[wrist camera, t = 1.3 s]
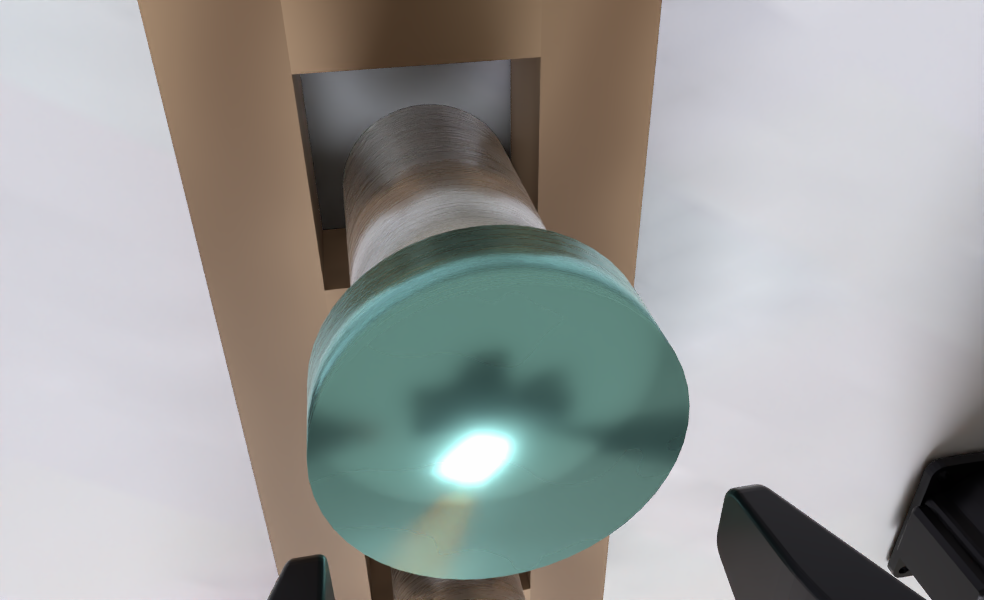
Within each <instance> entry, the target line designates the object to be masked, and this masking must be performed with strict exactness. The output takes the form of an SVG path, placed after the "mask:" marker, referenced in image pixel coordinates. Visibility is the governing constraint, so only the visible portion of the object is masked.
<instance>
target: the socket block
mask: <svg viewBox="0 0 984 600" xmlns="http://www.w3.org/2000/svg"><path fill="white" fill-rule="evenodd" d="M137 1H138V5H139V9H140V13H141V17H142V21H143V25H144V29H145V33H146V37H147V41H148V45H149V49H150V54H151V58H152V62H153V66H154V70H155V74H156V78H157V82H158V86H159V90H160V94H161V98H162V102H163V106H164V111H165V115H166V119H167V123H168V127H169V131H170V135H171V139H172V143H173V147H174V151H175V155H176V159H177V163H178V168H179V172H180V176H181V180H182V184H183V188H184V192H185V196H186V200H187V204H188V208H189V212H190V216H191V220H192V224H193V229H194V233H195V237H196V241H197V245H198V249H199V253H200V257H201V261H202V265H203V269H204V273H205V277H206V281H207V286H208V290H209V294H210V298H211V302H212V306H213V310H214V314H215V318H216V322H217V326H218V330H219V334H220V338H221V343H222V347H223V351H224V355H225V359H226V363H227V367H228V371H229V375H230V379H231V383H232V387H233V391H234V395H235V400H236V404H237V408H238V412H239V416H240V420H241V424H242V428H243V432H244V436H245V440H246V444H247V448H248V452H249V457H250V461H251V465H252V469H253V473H254V477H255V481H256V485H257V489H258V493H259V497H260V501H261V505H262V509H263V514H264V518H265V522H266V526H267V530H268V534H269V538H270V542H271V546H272V550H273V554H274V558H275V562H276V566H277V571H278V575H280V573H281V571H282V569H283V567H284V565H285V564H286V563H287V562H288V561H289V560H290V559H293V558H298V557H304V556H310V555H316V554H322V555H324V556H325V557H326V558H327V561H328V566H329V571H330V576H331V581H332V586H333V591H334V597H335V600H394V597H393V587H392V577H391V567H390V566H387V565H385V564H382V563H380V562H378V561H376V560H374V559H372V558H370V557H369V556H367V555H365V554H363V553H361V552H360V551H359V550H357V549H356V548H354V547H353V546H352V545H350V544H349V543H348V542H346V541H345V540H344V539H343V538H342V537H341V536H340V535H339V534H338V533H337V532H336V531H335V530H334V529H333V528H332V526H331V525H330V524H329V522H328V521H327V520H326V518H325V517H324V516H323V514H322V512H321V510H320V508H319V506H318V504H317V502H316V500H315V498H314V496H313V492H312V489H311V486H310V482H309V478H308V468H307V378H308V365H309V361H310V357H311V352H312V348H313V345H314V342H315V340H316V338H317V335H318V333H319V330H320V328H321V326H322V324H323V322H324V321H325V319H326V318H327V316H328V314H329V313H330V311H331V309H332V308H333V306H334V305H335V304H336V303H337V301H338V300H339V299H340V298H341V297H342V295H343V294H344V293H345V292H346V290H347V289H348V288H349V287H350V274H349V261H348V249H347V236H346V228H340V229H330V230H323V228H322V221H321V214H320V207H319V200H318V193H317V187H316V180H315V173H314V166H313V159H312V152H311V146H310V139H309V132H308V125H307V118H306V111H305V104H304V98H303V91H302V84H301V77H300V74H305V73H320V72H334V71H348V70H363V69H377V68H391V67H406V66H420V65H434V64H449V63H463V62H477V61H492V60H506V59H511V163H512V165H513V167H514V169H515V171H516V173H517V175H518V177H519V178H520V180H521V182H522V184H523V186H524V188H525V190H526V192H527V194H528V195H529V197H530V199H531V201H532V203H533V205H534V207H535V209H536V211H537V212H538V214H539V216H540V218H541V220H542V222H543V224H544V226H545V228H546V230H550V231H554V232H557V233H560V234H562V235H565V236H568V237H571V238H574V239H576V240H578V241H580V242H582V243H584V244H586V245H587V246H589V247H591V248H593V249H595V250H596V251H597V252H599V253H600V254H602V255H603V256H604V257H606V258H607V259H608V260H610V261H611V262H612V263H613V264H614V265H615V266H616V267H617V268H618V269H619V270H620V271H621V272H622V273H623V274H624V275H625V277H626V278H627V280H628V281H629V282H630V284H631V285H632V287H633V288H634V278H635V268H636V258H637V247H638V237H639V227H640V217H641V207H642V196H643V186H644V176H645V166H646V156H647V146H648V135H649V125H650V115H651V105H652V95H653V85H654V74H655V64H656V54H657V44H658V34H659V24H660V13H661V3H662V0H137ZM608 542H609V535H608V536H607V537H605V538H604V539H602V540H600V541H599V542H597V543H595V544H594V545H592V546H590V547H589V548H587V549H585V550H583V551H581V552H579V553H576V554H574V555H572V556H570V557H568V558H566V559H563V560H560V561H558V562H555V563H553V564H550V565H547V566H544V567H541V568H537V569H534V570H531V571H527V572H523V573H519V577H520V581H521V585H522V589H523V592H524V596H525V600H603V593H604V583H605V573H606V563H607V553H608Z"/></svg>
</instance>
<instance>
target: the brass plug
mask: <svg viewBox="0 0 984 600" xmlns="http://www.w3.org/2000/svg"><path fill="white" fill-rule="evenodd" d="M391 577H392V587H393V597H394V600H525V596H524V592H523V589H522V585H521V581H520V577H519V573H518V574H513V575H508V576H502V577H494V578H486V579H465V580H460V579H442V578H434V577H428V576H421V575H417V574H413V573H409V572H405V571H401V570H398V569H395V568H393V567H391Z"/></svg>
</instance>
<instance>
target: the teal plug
mask: <svg viewBox="0 0 984 600" xmlns="http://www.w3.org/2000/svg"><path fill="white" fill-rule="evenodd" d="M343 198H344V211H345V223H346V236H347V249H348V261H349V274H350V287H349V288H348V289H347V290H346V292H345V293H344V294H343V295H342V297H341V298H340V299H339V300H338V301H337V303H336V304H335V305H334V306H333V308H332V309H331V311H330V313H329V314H328V316H327V318H326V319H325V321H324V322H323V324H322V326H321V328H320V330H319V333H318V335H317V338H316V340H315V342H314V345H313V348H312V352H311V357H310V361H309V365H308V378H307V468H308V478H309V482H310V486H311V489H312V492H313V496H314V498H315V500H316V502H317V504H318V506H319V508H320V510H321V512H322V514H323V516H324V517H325V518H326V520H327V521H328V522H329V524H330V525H331V526H332V528H333V529H334V530H335V531H336V532H337V533H338V534H339V535H340V536H341V537H342V538H343V539H344V540H345V541H346V542H348V543H349V544H350V545H352V546H353V547H354V548H356V549H357V550H359V551H360V552H361V553H363V554H365V555H367V556H369V557H370V558H372V559H374V560H376V561H378V562H380V563H382V564H385V565H387V566H390V567H393V568H395V569H398V570H401V571H405V572H409V573H413V574H417V575H421V576H428V577H434V578H442V579H460V580H465V579H486V578H494V577H502V576H508V575H513V574H518V573H523V572H527V571H531V570H534V569H537V568H541V567H544V566H547V565H550V564H553V563H555V562H558V561H560V560H563V559H566V558H568V557H570V556H572V555H574V554H576V553H579V552H581V551H583V550H585V549H587V548H589V547H590V546H592V545H594V544H595V543H597V542H599V541H600V540H602V539H604V538H605V537H607V536H608V535H610V534H611V533H613V532H614V531H615V530H617V529H618V528H619V527H621V526H622V525H623V524H625V523H626V522H627V521H628V520H629V519H630V518H632V517H633V516H634V515H635V514H636V513H637V512H638V511H639V510H641V509H642V507H643V506H644V505H645V504H646V503H647V502H648V501H649V500H650V499H651V498H652V496H653V495H654V494H655V493H656V492H657V490H658V489H659V488H660V486H661V485H662V483H663V482H664V481H665V479H666V478H667V476H668V475H669V473H670V471H671V469H672V467H673V466H674V464H675V462H676V460H677V458H678V455H679V453H680V450H681V448H682V445H683V443H684V439H685V435H686V430H687V426H688V418H689V395H688V386H687V382H686V379H685V375H684V371H683V368H682V366H681V364H680V362H679V360H678V358H677V356H676V354H675V352H674V350H673V349H672V347H671V346H670V344H669V343H668V341H667V339H666V338H665V336H664V335H663V333H662V332H661V330H660V328H659V327H658V325H657V324H656V322H655V321H654V319H653V318H652V316H651V314H650V313H649V311H648V310H647V308H646V307H645V305H644V303H643V302H642V300H641V299H640V297H639V296H638V294H637V293H636V291H635V289H634V288H633V287H632V285H631V284H630V282H629V281H628V280H627V278H626V277H625V275H624V274H623V273H622V272H621V271H620V270H619V269H618V268H617V267H616V266H615V265H614V264H613V263H612V262H611V261H610V260H608V259H607V258H606V257H604V256H603V255H602V254H600V253H599V252H597V251H596V250H595V249H593V248H591V247H589V246H587V245H586V244H584V243H582V242H580V241H578V240H576V239H574V238H571V237H568V236H565V235H562V234H560V233H557V232H554V231H550V230H546V228H545V226H544V224H543V222H542V220H541V218H540V216H539V214H538V212H537V211H536V209H535V207H534V205H533V203H532V201H531V199H530V197H529V195H528V194H527V192H526V190H525V188H524V186H523V184H522V182H521V180H520V178H519V177H518V175H517V173H516V171H515V169H514V167H513V165H512V163H511V161H510V160H509V158H508V156H507V154H506V152H505V150H504V148H503V146H502V145H501V143H500V141H499V139H498V138H497V137H496V135H495V134H494V133H493V131H492V130H491V129H490V128H489V127H488V126H487V125H486V124H484V123H483V122H482V121H480V120H479V119H478V118H476V117H474V116H473V115H471V114H469V113H467V112H465V111H462V110H460V109H457V108H453V107H449V106H444V105H436V104H427V105H416V106H410V107H407V108H403V109H400V110H397V111H395V112H393V113H390V114H388V115H386V116H385V117H383V118H381V119H380V120H378V121H377V122H376V123H374V124H373V125H372V126H370V127H369V128H368V129H367V130H366V131H365V132H364V133H363V134H362V136H361V137H360V138H359V139H358V141H357V142H356V143H355V145H354V147H353V149H352V150H351V152H350V154H349V157H348V159H347V162H346V165H345V170H344V174H343Z"/></svg>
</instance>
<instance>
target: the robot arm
mask: <svg viewBox="0 0 984 600" xmlns="http://www.w3.org/2000/svg"><path fill="white" fill-rule="evenodd" d="M717 546H718V551H719V555H720V558H721V561H722V564H723V566H724V569H725V572H726V575H727V578H728V580H729V583H730V586H731V589H732V592H733V594H734V597H735V600H926V599H924V598H923V597H922V596H920V595H919V594H917V593H916V592H915V591H913V590H912V589H910V588H909V587H908V586H906V585H905V584H903V583H902V582H900V581H899V580H898V579H896V578H895V577H897V578H899V577H906V576H912V575H913V576H914V577H915V578H916V580H917V581H918V582H919V584H920V585H921V586H922V587H923V589H924V590H925V591H926V593H927V594H928V595H929V597H930V598H931V599H932V600H984V452H980V453H974V454H967V455H961V456H955V457H949V458H942V459H938V460H935V461H933V462H931V463H930V464H929V465H928V466H927V467H926V469H925V470H924V473H923V476H922V478H921V481H920V483H919V486H918V488H917V491H916V493H915V496H914V499H913V501H912V504H911V506H910V509H909V511H908V514H907V516H906V519H905V522H904V524H903V527H902V529H901V532H900V534H899V537H898V539H897V542H896V545H895V547H894V550H893V552H892V555H891V557H890V560H889V562H888V568H889V570H890V571H891V572H892V574H893V575H894V576H895V577H893V576H892V575H891V574H889V573H888V572H886V571H885V570H884V569H882V568H881V567H879V566H878V565H876V564H875V563H874V562H872V561H871V560H869V559H868V558H867V557H865V556H864V555H862V554H861V553H859V552H858V551H857V550H855V549H854V548H852V547H851V546H850V545H848V544H847V543H845V542H844V541H843V540H841V539H840V538H838V537H837V536H835V535H834V534H833V533H831V532H830V531H828V530H827V529H826V528H824V527H823V526H821V525H820V524H819V523H817V522H816V521H814V520H813V519H811V518H810V517H809V516H807V515H806V514H804V513H803V512H802V511H800V510H799V509H797V508H796V507H795V506H793V505H792V504H790V503H789V502H787V501H786V500H785V499H783V498H782V497H780V496H779V495H778V494H776V493H775V492H773V491H772V490H771V489H769V488H767V487H765V486H763V485H759V484H756V485H749V486H742V487H736V488H732V489H730V490H729V491H728V492H727V493H726V495H725V498H724V503H723V508H722V513H721V518H720V523H719V528H718V532H717ZM268 600H335V597H334V591H333V586H332V581H331V576H330V571H329V566H328V561H327V558H326V557H325V556H324V555H322V554H316V555H310V556H304V557H298V558H293V559H290V560H289V561H288V562H287V563H286V564H285V565H284V567H283V569H282V571H281V573H280V575H279V577H278V579H277V581H276V583H275V585H274V587H273V589H272V591H271V593H270V595H269V598H268Z"/></svg>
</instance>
